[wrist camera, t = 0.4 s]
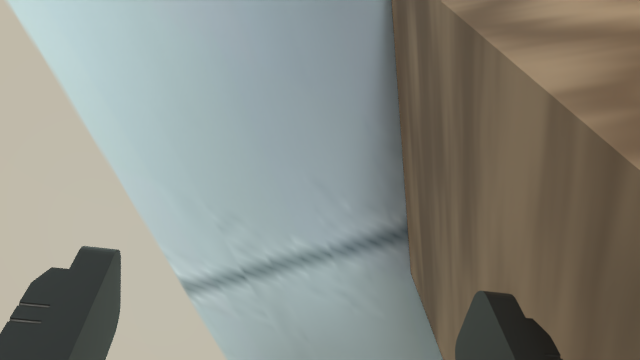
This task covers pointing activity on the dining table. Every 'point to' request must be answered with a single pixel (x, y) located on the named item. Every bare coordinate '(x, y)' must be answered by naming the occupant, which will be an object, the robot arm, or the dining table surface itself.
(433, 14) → the walnut stand
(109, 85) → the dining table surface
